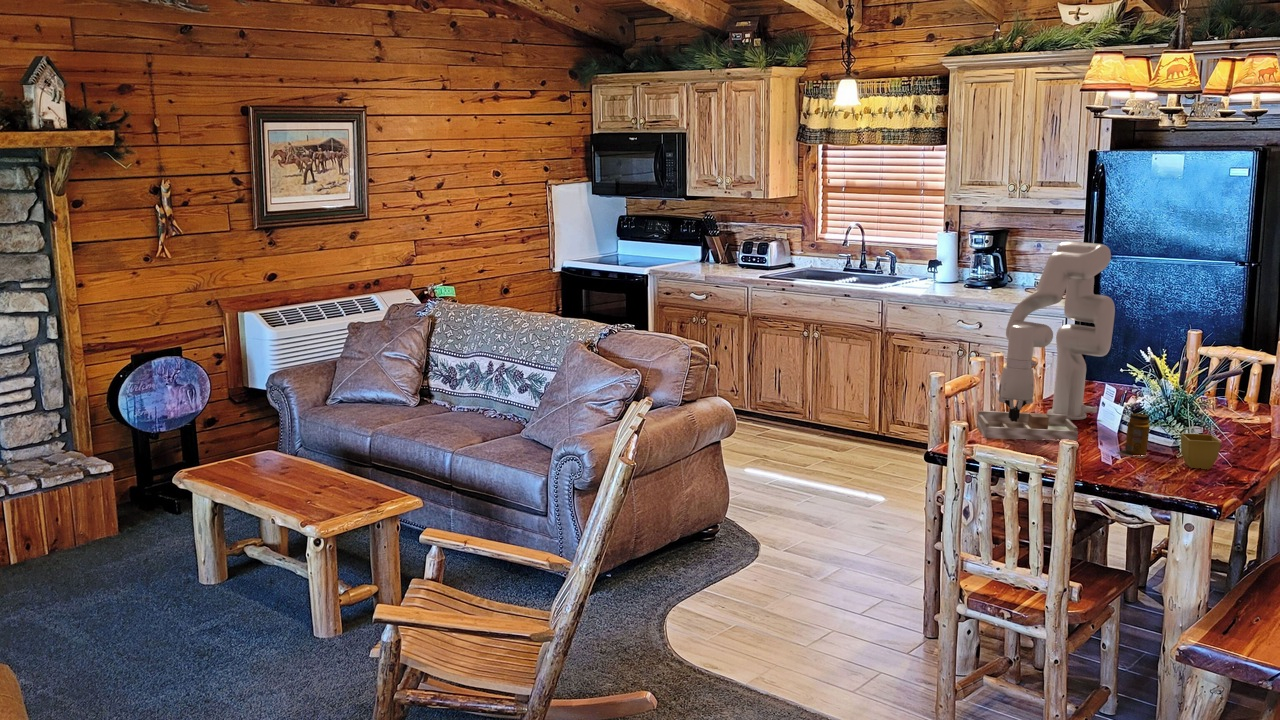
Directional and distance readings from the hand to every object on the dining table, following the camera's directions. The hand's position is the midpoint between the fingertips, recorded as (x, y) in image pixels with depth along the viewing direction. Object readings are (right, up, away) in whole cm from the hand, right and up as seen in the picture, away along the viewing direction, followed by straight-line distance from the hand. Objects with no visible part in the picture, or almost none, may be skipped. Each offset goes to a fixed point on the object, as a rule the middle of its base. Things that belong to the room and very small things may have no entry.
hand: (1013, 420), depth 358 cm
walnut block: (+8, -2, 0) cm, 8 cm away
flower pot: (+43, -12, -32) cm, 55 cm away
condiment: (+30, -9, -19) cm, 37 cm away
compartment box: (+4, -5, +1) cm, 6 cm away
